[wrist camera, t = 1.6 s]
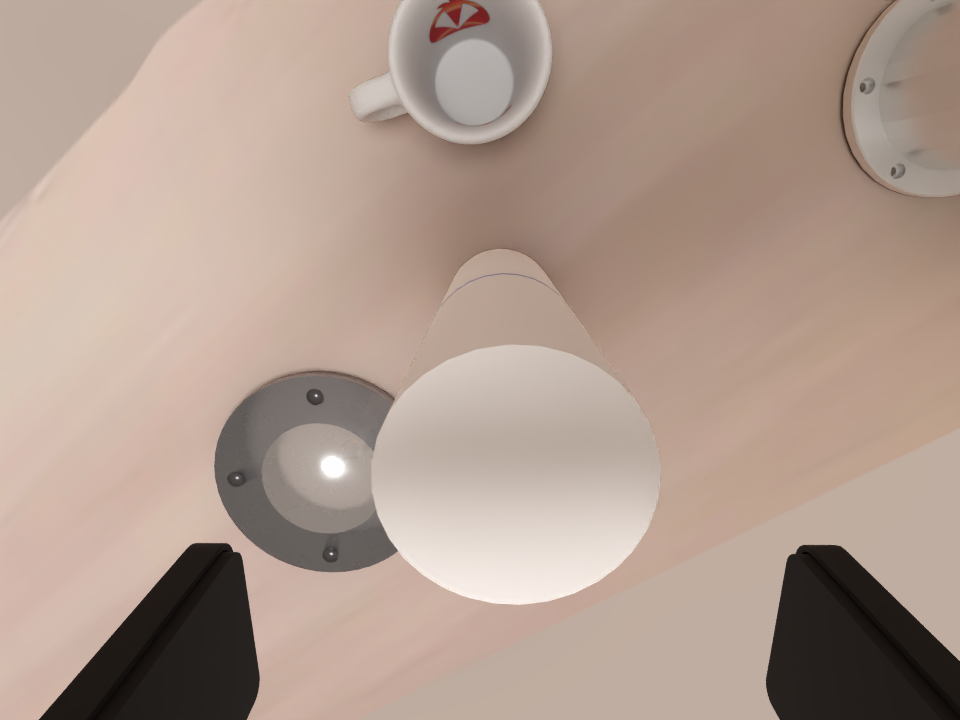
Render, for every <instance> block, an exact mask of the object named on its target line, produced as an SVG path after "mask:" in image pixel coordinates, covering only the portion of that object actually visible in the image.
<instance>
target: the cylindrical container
mask: <svg viewBox="0 0 960 720" xmlns="http://www.w3.org/2000/svg"><path fill="white" fill-rule="evenodd" d="M660 482H661V471H660V458H659V450H658V447H657V443H656V440H655V437H654V434H653V431H652V428H651V425H650V423H649V421H648V420H647V418H646V416H645V415H644V413H643V411H642V410H641V408H640V406H639V404H638V403H637V401H636V400H635V398H634V397H633V396H632V394H631V393H630V391H629V390H628V389H627V387H626V386H625V384H624V383H623V382H622V380H621V379H620V377H619V376H618V375H617V373H616V372H615V370H614V369H613V368H612V366H611V365H610V363H609V362H608V361H607V359H606V358H605V356H604V355H603V354H602V352H601V351H600V349H599V348H598V347H597V345H596V344H595V342H594V341H593V340H592V338H591V337H590V335H589V334H588V333H587V331H586V330H585V328H584V327H583V326H582V324H581V323H580V321H579V320H578V318H577V317H576V316H575V314H574V313H573V311H572V310H571V309H570V307H569V306H568V305H567V303H566V302H565V300H564V299H563V297H562V296H561V295H560V293H559V292H558V290H557V289H556V288H555V286H554V285H553V283H552V282H551V281H550V279H549V278H548V276H547V275H546V274H545V272H544V271H543V269H542V268H541V267H540V266H539V265H538V264H537V263H536V262H535V261H534V260H532V259H531V258H530V257H528V256H526V255H524V254H522V253H520V252H517V251H513V250H509V249H494V250H488V251H485V252H482V253H479V254H477V255H475V256H474V257H472V258H471V259H469V260H468V261H467V262H466V263H465V264H463V265H462V266H461V268H460V269H459V270H458V272H457V273H456V274H455V277H454V279H453V281H452V283H451V285H450V287H449V289H448V291H447V293H446V295H445V297H444V299H443V301H442V303H441V305H440V307H439V309H438V311H437V313H436V315H435V317H434V319H433V321H432V323H431V325H430V328H429V330H428V332H427V334H426V336H425V338H424V340H423V342H422V344H421V346H420V348H419V350H418V352H417V354H416V357H415V359H414V361H413V363H412V365H411V367H410V369H409V371H408V373H407V375H406V377H405V379H404V381H403V384H402V386H401V388H400V390H399V392H398V394H397V396H396V398H395V400H394V402H393V404H392V406H391V408H390V410H389V413H388V415H387V417H386V419H385V421H384V423H383V425H382V428H381V430H380V432H379V434H378V436H377V439H376V444H375V449H374V453H373V458H372V462H371V484H372V494H373V498H374V502H375V506H376V510H377V514H378V517H379V519H380V521H381V523H382V525H383V527H384V529H385V531H386V533H387V536H388V538H389V539H390V541H391V542H392V543H393V545H394V546H395V547H396V548H397V550H398V551H399V552H400V554H401V555H402V556H403V557H404V559H405V560H406V561H408V562H409V563H410V564H411V565H412V566H413V567H414V568H415V569H416V570H418V571H419V572H420V573H421V574H422V575H424V576H425V577H427V578H428V579H430V580H432V581H433V582H435V583H436V584H438V585H440V586H441V587H443V588H445V589H448V590H450V591H452V592H455V593H457V594H460V595H462V596H465V597H467V598H472V599H476V600H481V601H485V602H489V603H498V604H517V605H522V604H530V603H539V602H547V601H551V600H554V599H558V598H561V597H564V596H568V595H571V594H574V593H576V592H578V591H580V590H582V589H584V588H586V587H588V586H590V585H592V584H594V583H596V582H598V581H599V580H601V579H602V578H603V577H605V576H606V575H607V574H609V573H610V572H612V571H613V570H614V569H616V568H617V567H618V566H619V565H620V564H621V563H622V562H623V561H624V560H625V559H626V558H627V557H628V555H629V554H630V553H631V552H632V551H633V550H634V549H635V547H636V546H637V544H638V543H639V541H640V540H641V538H642V537H643V535H644V534H645V532H646V530H647V529H648V526H649V524H650V521H651V519H652V516H653V514H654V511H655V508H656V506H657V501H658V495H659V488H660Z"/></svg>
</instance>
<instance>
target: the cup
mask: <svg viewBox="0 0 960 720" xmlns="http://www.w3.org/2000/svg"><path fill="white" fill-rule="evenodd" d="M388 64H389V71H388V72H387V73H385V74H383V75H381V76H378V77H375V78H373V79H370V80H368V81H366V82H364V83H362V84H360V85H358V86H356V87H355V88H354V89H353V90H352V91H351V92H350V96H349V101H350V105H351V108H352V111H353V113H354V115H355V117H356V118H357V119H358V120H360V121H363V122H379V121H383V120H387V119H391V118H394V117H397V116H400V115H403V114H406V113H409V114H410V116H411V117H412V118H413V119H414V120H415V121H416V122H417V123H418V124H419V125H420V126H422V127H423V128H424V129H425V130H427V131H428V132H430V133H431V134H433V135H435V136H437V137H439V138H441V139H444V140H446V141H450V142H453V143H459V144H482V143H487V142H491V141H494V140H497V139H499V138H502V137H504V136H506V135H507V134H509V133H511V132H512V131H514V130H515V129H516V128H518V127H519V126H520V125H521V124H522V123H523V122H524V121H525V120H526V119H527V118H528V117H529V116H530V115H531V114H532V112H533V111H534V110H535V108H536V107H537V105H538V103H539V102H540V100H541V98H542V96H543V94H544V92H545V89H546V86H547V83H548V80H549V76H550V71H551V66H552V38H551V32H550V28H549V24H548V21H547V18H546V15H545V12H544V10H543V8H542V6H541V4H540V2H539V1H538V0H401V2H400V4H399V6H398V8H397V10H396V12H395V15H394V17H393V20H392V24H391V28H390V33H389V38H388Z"/></svg>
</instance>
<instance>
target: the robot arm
mask: <svg viewBox="0 0 960 720" xmlns="http://www.w3.org/2000/svg"><path fill="white" fill-rule="evenodd" d="M860 86H861V91H860ZM843 120H844V127H845V133H846V137H847V140H848V143H849V145H850V148H851V150H852V153H853V155H854V156H855V158H856V159H857V161H858V162H859V164H860V165H861V167H862V169H863V170H865V171H866V172H867V173H868V174H869V175H870V176H871V177H872V178H873V179H874V180H875V181H876V182H878V183H880V184H881V185H883V186H885V187H887V188H888V189H890V190H892V191H896V192H899V193H902V194H905V195H908V196H919V197H948V196H953V195H958V194H960V0H895V1H894V2H893V3H892V4H891V5H890V6H889V7H888V8H887V9H886V10H884V12H883V13H882V14H881V15H880V16H879V18H878V19H877V20H876V21H875V23H874V24H873V25H872V26H871V28H870V29H869V30H868V32H867V34H866V35H865V37H864V39H863V41H862V42H861V44H860V46H859V47H858V49H857V51H856V53H855V56H854V59H853V61H852V64H851V66H850V69H849V71H848V75H847V80H846V85H845V90H844V94H843ZM259 681H260V677H259V669H258V662H257V655H256V648H255V642H254V635H253V628H252V621H251V615H250V608H249V601H248V594H247V587H246V581H245V574H244V567H243V560H242V556H241V555H240V553H238V552H233V550H232V548H231V546H230V545H229V544H227V543H195V544H192V545H190V546H189V547H188V548H187V549H186V550H185V552H184V553H183V554H182V555H181V556H180V557H179V558H178V560H177V561H176V562H175V563H174V564H173V565H172V567H171V568H170V569H169V570H168V571H167V572H166V573H165V575H164V576H163V577H162V578H161V579H160V580H159V582H158V583H157V584H156V585H155V586H154V587H153V588H152V590H151V591H150V592H149V593H148V594H147V595H146V597H145V598H144V599H143V600H142V601H141V602H140V603H139V605H138V606H137V607H136V608H135V609H134V610H133V612H132V613H131V614H130V615H129V616H128V617H127V619H126V620H125V621H124V622H123V623H122V624H121V625H120V627H119V628H118V629H117V630H116V631H115V632H114V634H113V635H112V636H111V637H110V638H109V639H108V640H107V642H106V643H105V644H104V645H103V646H102V647H101V649H100V650H99V651H98V652H97V653H96V654H95V655H94V657H93V658H92V659H91V660H90V661H89V662H88V664H87V665H86V666H85V667H84V668H83V669H82V671H81V672H80V673H79V674H78V675H77V676H76V677H75V679H74V680H73V681H72V682H71V683H70V684H69V686H68V687H67V688H66V689H65V690H64V691H63V692H62V694H61V695H60V696H59V697H58V698H57V699H56V701H55V702H54V703H53V704H52V705H51V706H50V707H49V709H48V710H47V711H46V712H45V713H44V714H43V716H42V717H41V718H40V719H39V720H247V718H248V716H249V713H250V711H251V709H252V707H253V705H254V703H255V700H256V697H257V694H258V689H259ZM766 688H767V693H768V696H769V700H770V702H771V704H772V706H773V708H774V710H775V711H776V714H777V715H778V717H779V719H780V720H960V661H959V660H958V659H957V658H956V657H955V656H954V655H953V654H952V653H951V652H950V651H949V650H948V649H947V648H946V647H944V646H943V645H942V644H941V643H940V642H939V641H938V640H937V639H936V638H935V637H934V636H933V635H932V634H931V633H930V632H929V631H928V630H927V629H926V628H925V627H924V626H923V625H922V624H921V623H920V622H919V621H918V620H917V619H916V618H915V617H914V616H913V615H912V614H911V613H910V612H909V611H908V610H907V609H906V608H904V607H903V606H902V605H901V604H900V603H899V602H898V601H897V600H896V599H895V598H894V597H893V596H892V595H891V594H890V593H889V592H888V591H887V590H886V589H885V588H884V587H883V586H882V585H881V584H880V583H879V582H878V581H877V580H876V579H875V578H874V577H873V576H872V575H871V574H870V573H868V572H867V571H866V570H865V569H864V568H863V567H862V566H861V565H860V564H859V563H858V562H857V561H856V560H855V559H854V558H853V557H852V556H851V555H850V554H849V553H848V552H847V551H846V550H844V549H843V548H842V547H841V546H837V545H803V546H800V547H799V548H798V550H797V552H796V554H792V555H790V556H789V557H788V559H787V563H786V568H785V574H784V580H783V586H782V591H781V597H780V603H779V608H778V614H777V620H776V626H775V631H774V637H773V643H772V649H771V655H770V660H769V665H768V671H767V677H766Z"/></svg>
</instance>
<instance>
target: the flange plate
mask: <svg viewBox="0 0 960 720" xmlns="http://www.w3.org/2000/svg"><path fill="white" fill-rule="evenodd" d="M394 400H395V399H394V398H393V397H392V396H390V395H389V394H388V393H386V392H385V391H383V390H381V389H380V388H378V387H377V386H375V385H373V384H371V383H368V382H366V381H364V380H362V379H359V378H356V377H352V376H349V375H345V374H340V373H335V372H322V371H314V372H302V373H297V374H292V375H288V376H285V377H282V378H279V379H276V380H274V381H272V382H270V383H268V384H266V385H264V386H263V387H262V388H260V389H259V390H257V391H256V392H254V393H253V394H252V395H251V396H249V397H248V398H247V399H246V400H245V401H244V402H243V403H241V404H240V405H239V406H238V407H237V408H236V410H235V411H234V412H233V413H232V415H231V416H230V417H229V419H228V420H227V422H226V424H225V426H224V427H223V429H222V432H221V434H220V437H219V440H218V443H217V448H216V452H215V465H214V467H215V479H216V483H217V488H218V492H219V495H220V497H221V500H222V503H223V505H224V507H225V509H226V510H227V512H228V514H229V516H230V517H231V519H232V520H233V522H234V523H235V525H236V526H237V527H238V528H239V529H240V531H241V532H242V533H243V534H244V535H245V536H246V537H247V538H248V539H249V540H250V541H252V542H253V543H254V544H255V545H256V546H258V547H259V548H260V549H262V550H263V551H265V552H266V553H268V554H269V555H271V556H273V557H275V558H277V559H279V560H281V561H283V562H286V563H288V564H290V565H293V566H297V567H300V568H304V569H308V570H314V571H321V572H346V571H352V570H358V569H362V568H365V567H369V566H372V565H374V564H376V563H379V562H381V561H383V560H385V559H386V558H388V557H390V556H392V555H393V554H395V553H396V552H397V551H398V550H397V548H396V547H395V546H394V545H393V543H392V542H391V541H390V539H389V538H388V536H387V533H386V531H385V529H384V527H383V525H382V523H381V521H380V519H379V517H378V514H377V510H376V506H375V502H374V498H373V494H372V484H371V462H372V458H373V453H374V449H375V444H376V439H377V436H378V434H379V432H380V430H381V428H382V425H383V423H384V421H385V419H386V417H387V415H388V413H389V410H390V408H391V406H392V404H393V402H394Z"/></svg>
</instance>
